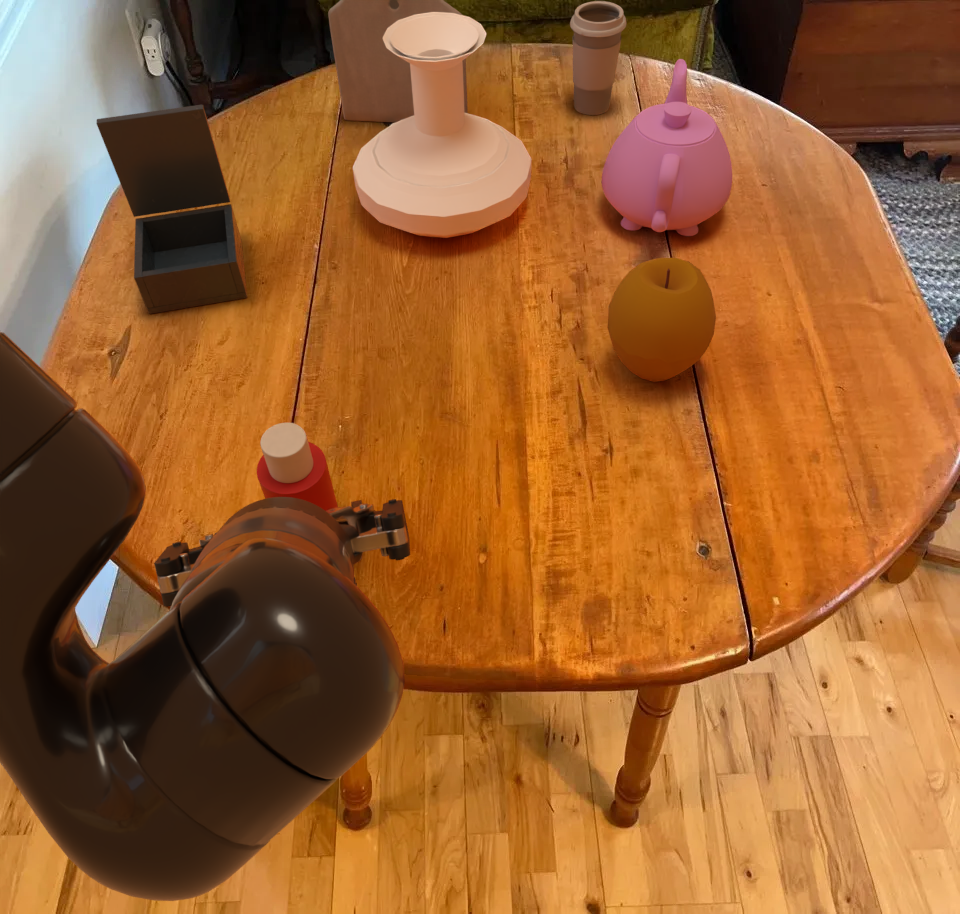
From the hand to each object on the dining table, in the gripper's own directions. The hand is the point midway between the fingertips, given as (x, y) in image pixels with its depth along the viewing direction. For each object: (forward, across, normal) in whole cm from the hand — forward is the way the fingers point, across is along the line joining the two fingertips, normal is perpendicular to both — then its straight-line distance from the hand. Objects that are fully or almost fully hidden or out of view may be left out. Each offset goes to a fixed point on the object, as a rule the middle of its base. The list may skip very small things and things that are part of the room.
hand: (295, 528), depth 58 cm
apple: (+23, -34, -5) cm, 41 cm away
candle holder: (+44, -20, -27) cm, 56 cm away
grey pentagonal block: (+60, -20, -42) cm, 76 cm away
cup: (+56, -43, -38) cm, 80 cm away
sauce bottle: (+12, 0, +3) cm, 13 cm away
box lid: (+36, +8, -34) cm, 50 cm away
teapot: (+40, -44, -22) cm, 63 cm away
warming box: (+40, +8, -23) cm, 47 cm away
